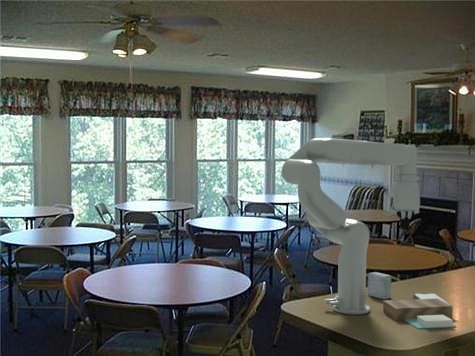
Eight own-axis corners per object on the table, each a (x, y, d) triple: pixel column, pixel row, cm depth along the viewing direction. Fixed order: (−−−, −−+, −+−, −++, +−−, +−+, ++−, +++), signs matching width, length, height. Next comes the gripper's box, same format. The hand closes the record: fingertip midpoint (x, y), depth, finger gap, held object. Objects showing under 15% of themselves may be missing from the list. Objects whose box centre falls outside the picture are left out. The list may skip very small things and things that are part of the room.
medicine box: (391, 298, 214) (391, 275, 214) (383, 299, 212) (383, 276, 211) (375, 293, 221) (375, 271, 220) (367, 295, 218) (367, 273, 218)
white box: (417, 315, 183) (416, 321, 183) (426, 321, 177) (425, 327, 177) (442, 314, 184) (442, 320, 184) (452, 320, 178) (452, 326, 178)
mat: (417, 329, 177) (417, 327, 177) (404, 320, 186) (404, 319, 186) (456, 327, 179) (456, 325, 179) (441, 318, 188) (441, 317, 188)
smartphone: (452, 309, 201) (435, 297, 217) (452, 305, 201) (435, 293, 217) (428, 310, 200) (412, 297, 216) (428, 305, 200) (412, 293, 216)
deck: (395, 320, 186) (395, 308, 185) (383, 312, 196) (383, 300, 195) (452, 318, 189) (452, 306, 189) (437, 309, 199) (437, 298, 198)
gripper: (419, 178, 210) (418, 227, 211) (381, 178, 208) (380, 228, 209) (429, 179, 203) (428, 230, 203) (390, 179, 200) (389, 231, 201)
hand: (404, 229), depth 206 cm, fingers closed
